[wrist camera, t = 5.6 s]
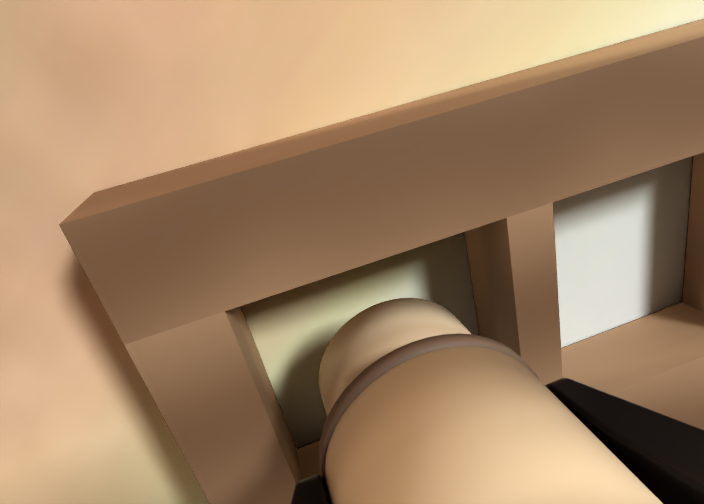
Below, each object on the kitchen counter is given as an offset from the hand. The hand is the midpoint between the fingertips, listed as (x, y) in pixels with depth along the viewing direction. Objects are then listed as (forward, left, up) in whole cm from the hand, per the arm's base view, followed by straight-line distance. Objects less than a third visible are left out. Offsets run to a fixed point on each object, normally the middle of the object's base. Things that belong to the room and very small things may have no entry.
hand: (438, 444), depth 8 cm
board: (-1, -3, -4) cm, 5 cm away
